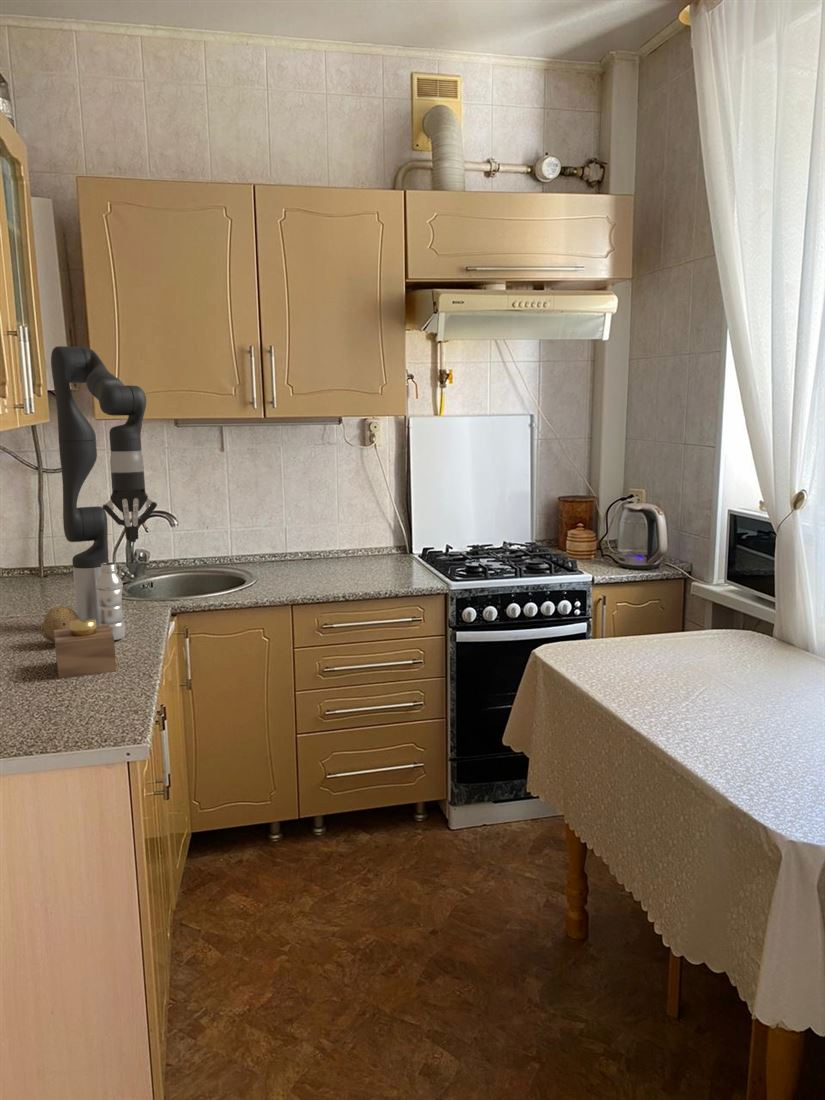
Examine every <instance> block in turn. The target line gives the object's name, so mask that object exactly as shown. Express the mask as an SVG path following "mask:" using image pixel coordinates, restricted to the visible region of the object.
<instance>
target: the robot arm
mask: <svg viewBox="0 0 825 1100" xmlns="http://www.w3.org/2000/svg"><path fill="white" fill-rule="evenodd" d="M50 365H51V368H50V369H51V374H52V376H51V377H52V381H53V389H54V395H55V403H56V410H57V412H56V414H57V428H58V429H57V430H58V433H57V434H58V449H59V459H60V467H61V468H60V470H61V476H62V477H61V480H62V519H63V521H62V522H63V525H62V526H63V531H64V532H63V533H64V536H65V539H66V540H67V541H68V542H70V543H81V542H82V543H83V542H93V543H92V545H91V546H90V547H88V548H87V549H85V550H83V551H82V552H79V553H77V554H75V555H74V556H73V557H72V559H71V560H72V561H71V563H72V574H73V584H74V585H73V586H74V597H75V598H74V599H75V613H76V614H77V616H78V618H79V619H95V620H96V626H98V625H100V602H99V596H98V591H97V581H98V579H99V578H100V576H101V575H102V572H101V564H103V563H110V561H109V546H108V545H109V541H108V536H109V534H108V529H109V528H108V517H107V514H108V515H109V516H110V517H111V519H113V521H114V522H116V524H117V525H119V526H123V527H124V532H125V539H126V541H128V542H129V543H136V541H137V540H138V539H139V527H140V525H142V524H146V522H147V520H148V519H149V517H151V515H152V513H153V512H154V510H155V509H156V508H157V506H158V503H156V502H155V501H153V500H151V499H150V498H149V496H148V494H147V492H146V485H145V484H146V483H145V482H146V481H145V464H144V457H143V453H142V441H141V440H142V439H141V436H142V435H141V431H142V426H143V421H144V416H145V411H146V407H147V397H146V393H145V392H144V390H143V388H142V387H140V386H138V385H124V383H123V382H122V381H121V379H119V377H116V376H115V374H113V373H111V372H110V371H109V370H108V369H107V367H106V366H105V364H104V363H103V361H102V359H101V358H100V357H99V355H98V354H97V353H96V351H94V350H93V349H91V348H89V347H84V346H66V345H65V346H62V345H60V346H55V347H54V348H52V351H51V357H50ZM71 384H86V387H87V390H88V392H89V393H90V394H91V395H92V396H94V398H95V399H96V400H98V403H99V407H100V408H99V409H100V410H101V411H102V412H103V414H105V415H109V416H117V417H118V416H120V417H121V416H128V417H127V420H126V422H124V424H120V425H115V426H112V427H111V428H110V429H109V433H108V434H109V446H110V447H109V448H110V449H109V450H110V457H109V458H110V459H109V460H110V461H109V462H110V479H111V492H112V493H111V495H110V500H109V501H107V502H106V503H104V504H102V505H101V506H85V507H84V506H83V507H78V506H77V505H78V498H79V494H80V492H81V489H82V486H83V485H84V483H85V481H86V479H87V477H88V476H89V475H90V473H91V471H92V470H93V468H94V466H95V464H96V462H97V459H98V458H97V457H98V450H97V448H98V447H97V437H96V432H95V430H94V427H93V426H92V425H91V423H90V422H89V420H88V419H87V417H86V416H85V415H84V414H83V412H82V410H81V409H80V408H79V406H78V405H77V403H76V402H75V399H74V397H73V394H72V389H71ZM113 505H114V506H115V507H116V508H117V509H118V510H119V511H120V512H121V514H122V518H123V519H121V518H120V517H119V516H118V515H117V514H116V513H115V512H114V511H113V510H114V506H113ZM144 506H145V508H146V509H145V510H144V511H143V513H142V514H141V516H140V517H139V512H140V511H141V510H142V508H144ZM130 512H131V513H130ZM130 514H131V519H130Z"/></svg>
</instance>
